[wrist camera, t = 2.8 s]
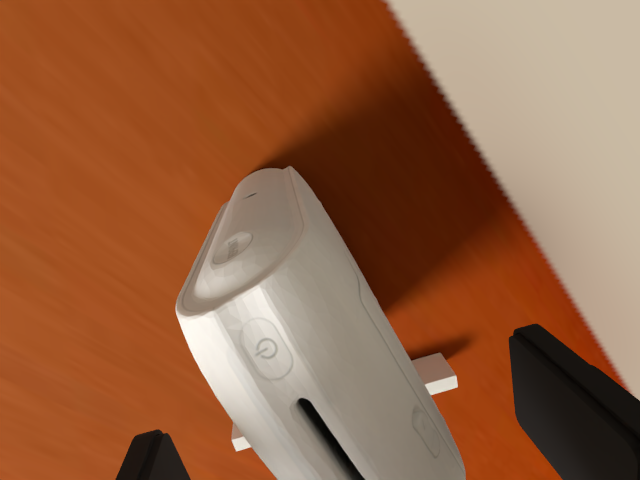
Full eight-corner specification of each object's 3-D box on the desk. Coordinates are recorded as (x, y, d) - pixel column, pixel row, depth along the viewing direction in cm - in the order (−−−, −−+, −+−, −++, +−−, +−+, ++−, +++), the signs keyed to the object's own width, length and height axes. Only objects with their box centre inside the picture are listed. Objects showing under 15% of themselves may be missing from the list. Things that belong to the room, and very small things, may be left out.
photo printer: (207, 195, 18) (97, 371, 6) (289, 146, 17) (335, 233, 6) (318, 354, 21) (380, 655, 10) (387, 316, 21) (535, 578, 9)
